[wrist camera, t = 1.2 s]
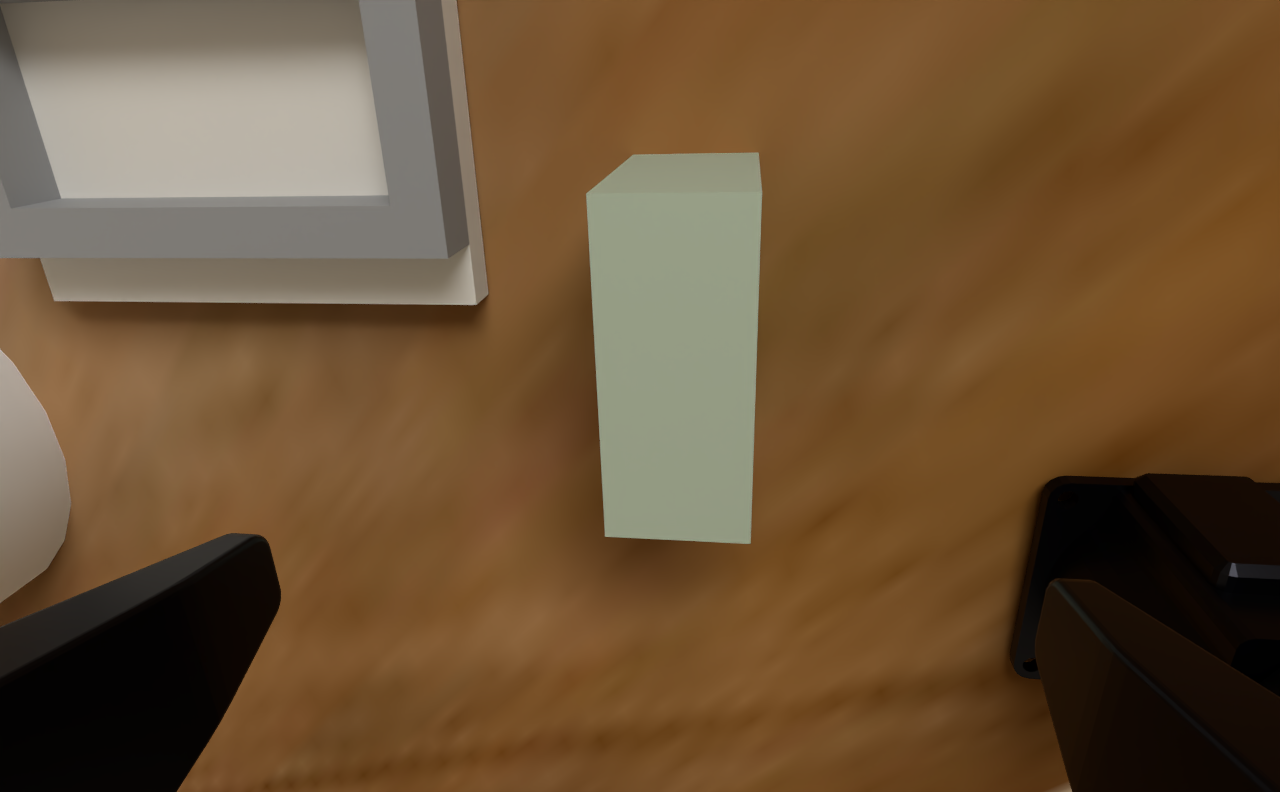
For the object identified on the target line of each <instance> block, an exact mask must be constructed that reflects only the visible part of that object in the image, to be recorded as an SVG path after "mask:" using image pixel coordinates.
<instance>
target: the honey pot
mask: <svg viewBox="0 0 1280 792" xmlns="http://www.w3.org/2000/svg"><path fill="white" fill-rule="evenodd" d="M70 508H71V498H70V491H69V483H68V476H67V469H66V462H65V458H64V455H63V453H62V450H61V448H60V445H59V443H58V440H57V438H56V436H55V433H54V431H53V428H52V426H51V423H50V421H49V418H48V416H47V413H46V411H45V410H44V408H43V407H42V405H41V404H40V402H39V401H38V399H37V398H36V396H35V395H34V393H33V392H32V390H31V389H30V387H29V386H28V384H27V383H26V381H25V380H24V378H23V377H22V375H21V374H20V372H19V371H18V369H17V368H16V366H15V365H14V363H13V362H12V361H11V360H10V359H9V358H8V357H7V356H6V355H5V354H4V353H3V352H2V351H1V350H0V603H1V602H2V601H4V600H5V599H6V598H8V597H9V596H11V595H12V594H13V593H15V592H16V591H17V590H19V589H20V588H22V587H23V586H24V585H26V584H27V583H28V582H30V581H31V580H33V579H34V578H35V577H37V576H38V575H39V574H41V573H42V572H44V571H45V570H46V569H47V568H48V566H49V565H50V563H51V561H52V560H53V558H54V557H55V555H56V554H57V552H58V550H59V549H60V547H61V546H62V544H63V542H64V541H65V536H66V530H67V524H68V519H69V513H70Z"/></svg>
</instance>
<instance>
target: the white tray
mask: <svg viewBox="0 0 1280 792" xmlns="http://www.w3.org/2000/svg"><path fill="white" fill-rule="evenodd" d="M0 258H40V260H41V263H42V266H43V269H44V272H45V275H46V278H47V281H48V284H49V287H50V290H51V292H52V295H53V298H54V301H111V302H216V303H322V304H427V305H477V304H478V303H479V302H480V301H481V300H483V299H484V298H485V297H486V296H487V295H488V285H487V276H486V267H485V258H484V248H483V239H482V230H481V221H480V212H479V202H478V193H477V184H476V175H475V166H474V157H473V147H472V138H471V129H470V120H469V111H468V101H467V92H466V83H465V74H464V65H463V56H462V46H461V37H460V28H459V19H458V10H457V1H456V0H0Z"/></svg>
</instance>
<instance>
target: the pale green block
mask: <svg viewBox="0 0 1280 792" xmlns="http://www.w3.org/2000/svg"><path fill="white" fill-rule="evenodd" d="M586 198H587V216H588V234H589V252H590V271H591V289H592V307H593V325H594V343H595V362H596V380H597V398H598V416H599V435H600V453H601V471H602V489H603V508H604V526H605V537H621V538H642V539H662V540H682V541H703V542H723V543H743V544H751V513H752V482H753V452H754V421H755V391H756V360H757V330H758V299H759V268H760V238H761V207H762V186H761V175H760V163H759V153H707V154H644V155H632V156H631V157H630V158H629V159H628V160H626V161H625V162H624V163H623V164H622V165H620V166H619V167H618V168H617V169H615V170H614V171H613V172H612V173H611V174H609V175H608V176H607V177H606V178H605V179H603V180H602V181H601V182H600V183H599V184H597V185H596V186H595V187H594V188H592V189H591V190H590V191H589V192H588V193H586Z"/></svg>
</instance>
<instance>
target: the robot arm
mask: <svg viewBox="0 0 1280 792" xmlns="http://www.w3.org/2000/svg"><path fill="white" fill-rule="evenodd" d="M1064 492H1073V494H1072V495H1071V497H1070V498H1068V499H1067V500H1063V501H1060V500H1058V498H1059V496H1060V495H1061V494H1063V493H1064ZM280 601H281V589H280V585H279V581H278V577H277V573H276V569H275V565H274V561H273V557H272V553H271V549H270V546H269V543H268V542H267V540H266V539H265V538H264V537H262V536H261V535H256V534H239V533H231V534H226V535H223V536H221V537H219V538H216V539H214V540H211V541H209V542H206V543H204V544H201V545H199V546H197V547H194V548H192V549H189V550H187V551H184V552H182V553H179V554H177V555H175V556H172V557H170V558H167V559H165V560H162V561H160V562H158V563H155V564H153V565H150V566H148V567H145V568H143V569H140V570H138V571H136V572H133V573H131V574H128V575H126V576H123V577H121V578H118V579H116V580H114V581H111V582H109V583H106V584H104V585H101V586H99V587H97V588H94V589H92V590H89V591H87V592H84V593H82V594H79V595H77V596H75V597H72V598H70V599H67V600H65V601H62V602H60V603H58V604H55V605H53V606H50V607H48V608H45V609H43V610H40V611H38V612H36V613H33V614H31V615H28V616H26V617H23V618H21V619H18V620H16V621H14V622H11V623H9V624H6V625H4V626H1V627H0V792H177V790H178V789H179V787H180V786H181V784H182V783H183V781H184V779H185V778H186V776H187V775H188V773H189V772H190V770H191V768H192V767H193V765H194V764H195V762H196V761H197V759H198V758H199V756H200V754H201V753H202V751H203V750H204V748H205V747H206V745H207V743H208V742H209V740H210V739H211V737H212V735H213V734H214V732H215V730H216V729H217V727H218V725H219V724H220V722H221V720H222V718H223V716H224V715H225V713H226V711H227V709H228V707H229V705H230V704H231V702H232V700H233V698H234V696H235V694H236V692H237V690H238V688H239V686H240V684H241V682H242V680H243V678H244V676H245V674H246V672H247V670H248V669H249V667H250V665H251V663H252V661H253V659H254V657H255V655H256V653H257V651H258V649H259V647H260V645H261V643H262V641H263V639H264V637H265V635H266V633H267V631H268V629H269V627H270V625H271V624H272V622H273V620H274V618H275V616H276V614H277V611H278V609H279V605H280ZM1029 658H1035V660H1033V661H1031V662H1024V661H1025V660H1027V659H1029ZM1010 661H1011V663H1012V665H1013V667H1014V669H1015V671H1016V673H1017V674H1019V675H1020V676H1022V677H1025V678H1031V679H1041V681H1042V684H1043V688H1044V692H1045V695H1046V699H1047V703H1048V706H1049V710H1050V714H1051V717H1052V721H1053V725H1054V728H1055V732H1056V736H1057V739H1058V743H1059V747H1060V750H1061V754H1062V758H1063V761H1064V765H1065V769H1066V772H1067V776H1068V779H1069V782H1070V786H1071V789H1072V792H1280V483H1257V482H1254V481H1253V480H1252V479H1250V478H1248V477H1238V476H1208V475H1179V474H1150V473H1148V474H1144V475H1142V476H1139V477H1137V478H1114V477H1086V476H1060V477H1057V478H1054V479H1052V480H1050V481H1049V482H1048V483H1047V484H1046V485H1045V487H1044V490H1043V492H1042V497H1041V502H1040V507H1039V512H1038V517H1037V522H1036V527H1035V532H1034V537H1033V541H1032V546H1031V551H1030V556H1029V561H1028V566H1027V571H1026V576H1025V581H1024V586H1023V591H1022V596H1021V601H1020V606H1019V611H1018V616H1017V620H1016V625H1015V630H1014V635H1013V640H1012V645H1011V650H1010Z"/></svg>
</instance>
